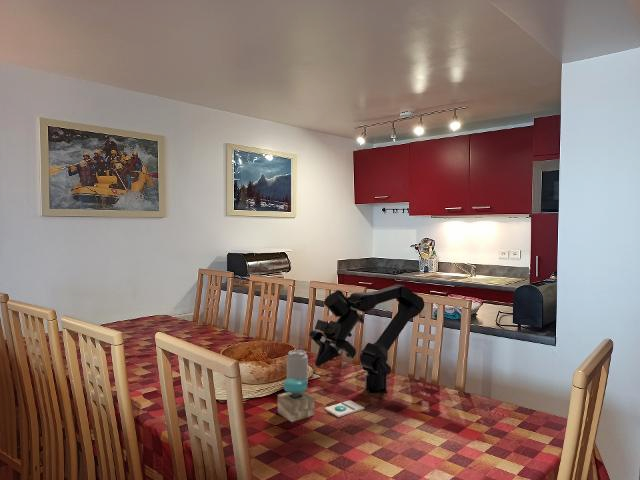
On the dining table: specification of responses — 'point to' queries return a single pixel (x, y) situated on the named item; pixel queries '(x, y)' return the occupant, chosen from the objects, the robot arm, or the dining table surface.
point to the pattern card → (344, 408)
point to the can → (297, 364)
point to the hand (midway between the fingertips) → (316, 365)
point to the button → (295, 386)
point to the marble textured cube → (295, 406)
